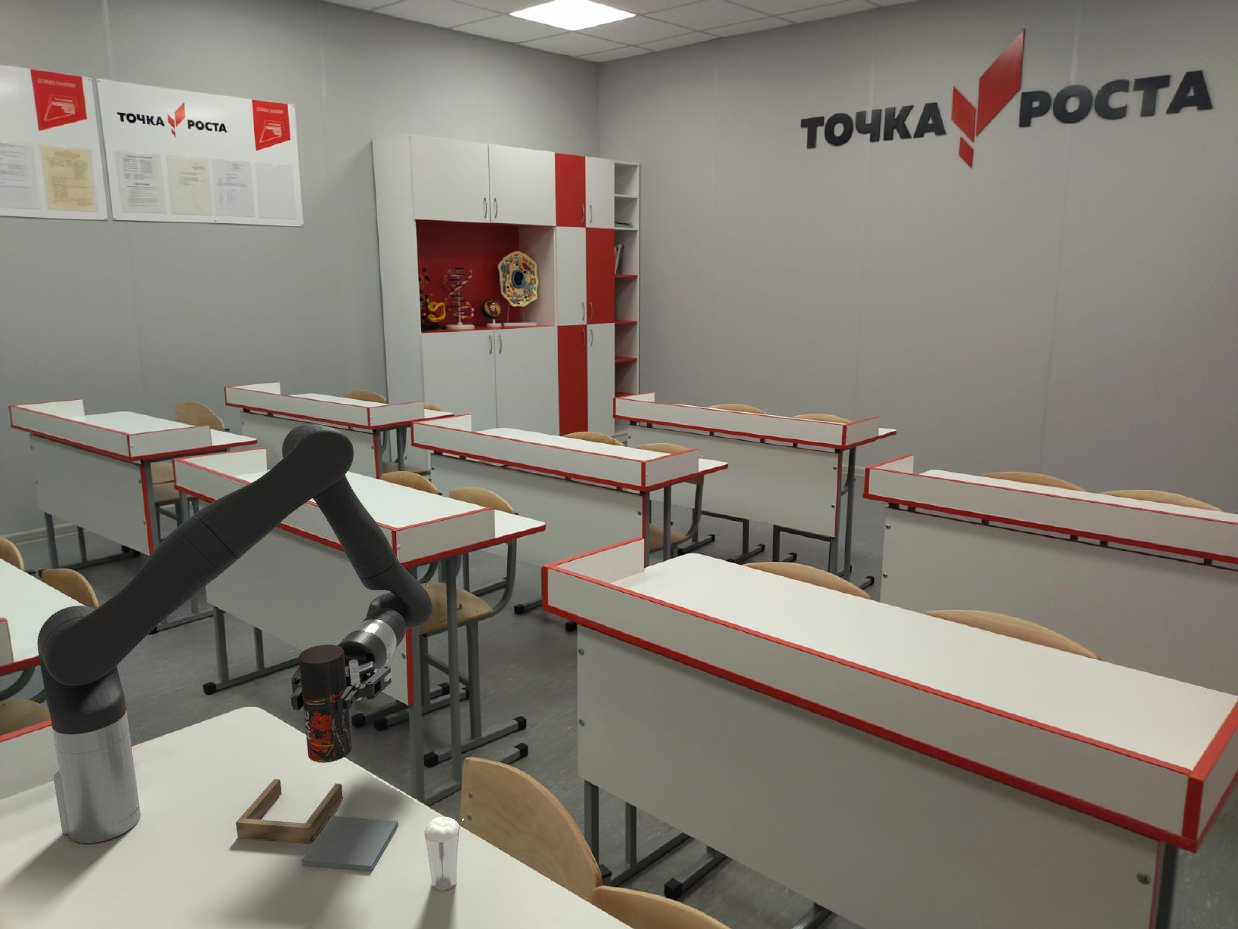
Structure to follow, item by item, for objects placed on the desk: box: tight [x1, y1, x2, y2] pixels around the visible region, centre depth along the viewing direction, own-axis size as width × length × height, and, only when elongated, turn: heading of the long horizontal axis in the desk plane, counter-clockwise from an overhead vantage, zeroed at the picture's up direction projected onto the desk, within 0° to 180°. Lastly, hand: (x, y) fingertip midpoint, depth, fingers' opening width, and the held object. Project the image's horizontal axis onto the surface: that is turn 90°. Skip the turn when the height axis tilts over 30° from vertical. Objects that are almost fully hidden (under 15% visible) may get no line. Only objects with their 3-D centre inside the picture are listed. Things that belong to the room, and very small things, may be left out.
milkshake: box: [423, 816, 465, 891], centre depth 117 cm, size 5×5×10 cm
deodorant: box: [298, 644, 353, 764], centre depth 123 cm, size 6×6×15 cm
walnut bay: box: [235, 778, 344, 845], centre depth 131 cm, size 11×11×2 cm
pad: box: [301, 815, 399, 872], centre depth 125 cm, size 10×10×1 cm
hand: (317, 705), depth 121 cm, fingers closed on deodorant, 6 cm apart
